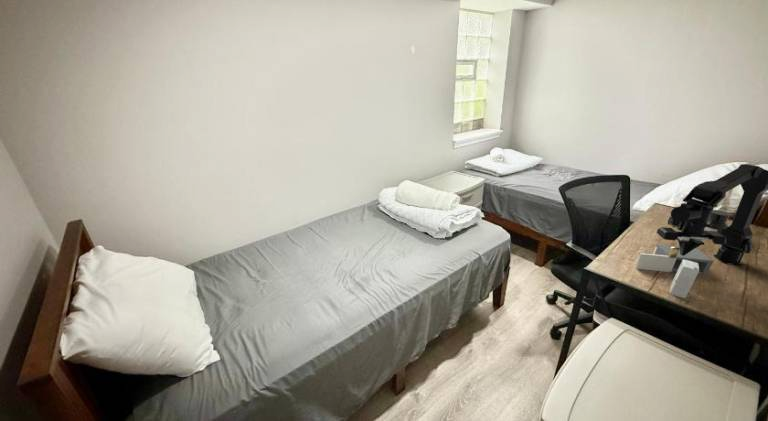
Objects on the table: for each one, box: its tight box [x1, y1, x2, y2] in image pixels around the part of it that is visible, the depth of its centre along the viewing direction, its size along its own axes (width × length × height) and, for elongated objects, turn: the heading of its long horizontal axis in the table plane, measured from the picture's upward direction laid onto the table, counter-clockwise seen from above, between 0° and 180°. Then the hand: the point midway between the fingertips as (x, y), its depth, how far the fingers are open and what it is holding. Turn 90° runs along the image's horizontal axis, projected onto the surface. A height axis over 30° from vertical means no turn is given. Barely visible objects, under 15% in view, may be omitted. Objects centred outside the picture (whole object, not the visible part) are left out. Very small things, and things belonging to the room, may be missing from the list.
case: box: [652, 243, 714, 276], centre depth 126 cm, size 14×10×6 cm
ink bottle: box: [704, 209, 731, 234], centre depth 148 cm, size 10×9×12 cm
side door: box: [635, 245, 680, 273], centre depth 123 cm, size 12×2×11 cm, turn 76°
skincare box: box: [669, 259, 699, 299], centre depth 110 cm, size 6×4×12 cm
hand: (682, 255), depth 120 cm, fingers closed
